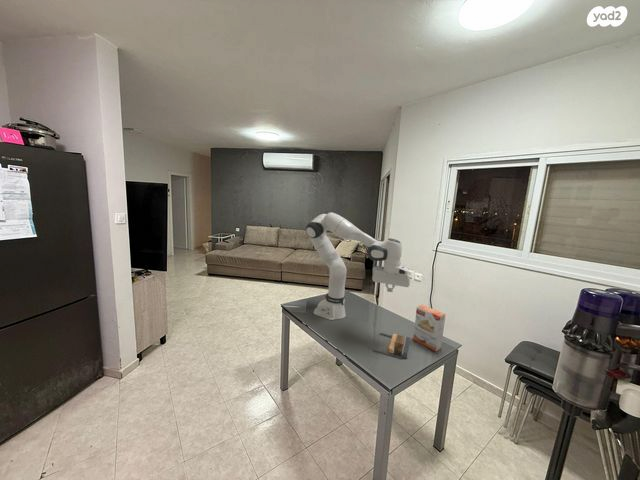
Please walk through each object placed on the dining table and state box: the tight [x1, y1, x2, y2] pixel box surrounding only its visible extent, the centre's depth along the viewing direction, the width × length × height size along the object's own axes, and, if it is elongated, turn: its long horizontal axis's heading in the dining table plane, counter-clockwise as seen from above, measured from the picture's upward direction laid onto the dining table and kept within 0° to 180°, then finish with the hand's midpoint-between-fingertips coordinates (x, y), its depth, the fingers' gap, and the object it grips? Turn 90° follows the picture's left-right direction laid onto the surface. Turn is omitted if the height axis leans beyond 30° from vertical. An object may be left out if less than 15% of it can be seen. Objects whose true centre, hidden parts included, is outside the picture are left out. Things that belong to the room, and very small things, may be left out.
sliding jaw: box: [388, 333, 398, 354], centre depth 136 cm, size 3×16×3 cm, turn 155°
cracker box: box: [413, 304, 446, 352], centre depth 137 cm, size 14×6×21 cm, turn 36°
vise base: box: [372, 332, 411, 360], centre depth 136 cm, size 17×19×3 cm
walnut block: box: [393, 334, 406, 356], centre depth 133 cm, size 4×8×6 cm, turn 155°
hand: (389, 291), depth 139 cm, fingers closed
